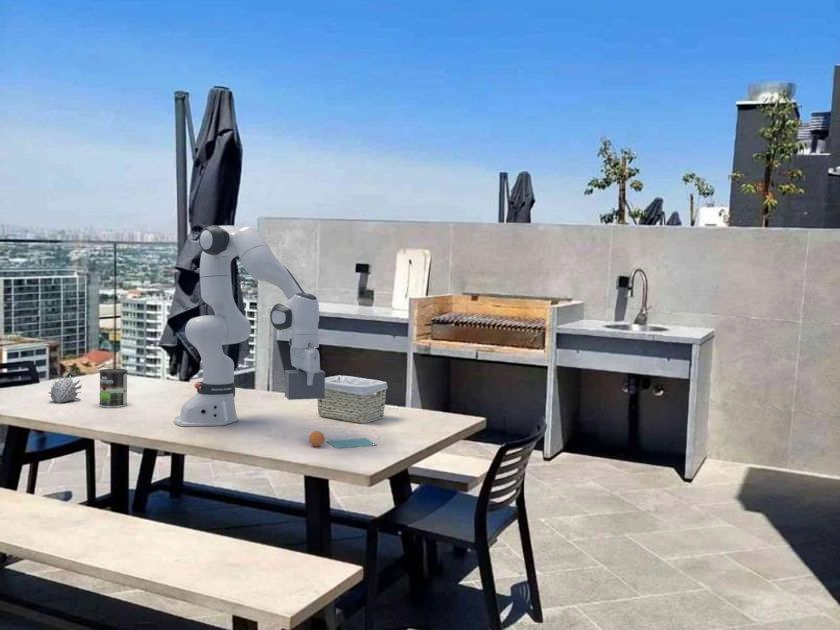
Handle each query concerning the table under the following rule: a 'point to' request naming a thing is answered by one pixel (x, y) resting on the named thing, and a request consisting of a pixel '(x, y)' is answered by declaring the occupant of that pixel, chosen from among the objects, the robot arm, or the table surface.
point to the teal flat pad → (351, 443)
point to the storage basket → (353, 399)
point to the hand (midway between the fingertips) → (304, 383)
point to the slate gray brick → (304, 385)
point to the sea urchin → (64, 390)
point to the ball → (316, 438)
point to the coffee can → (113, 388)
